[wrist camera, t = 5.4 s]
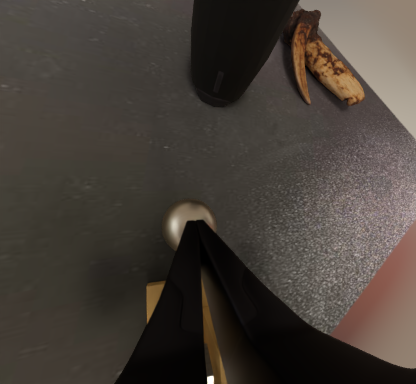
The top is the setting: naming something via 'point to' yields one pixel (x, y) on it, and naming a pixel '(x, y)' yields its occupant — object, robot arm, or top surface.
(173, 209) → the tap lever
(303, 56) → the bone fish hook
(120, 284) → the top surface
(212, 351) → the tap bracket
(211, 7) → the portable speaker
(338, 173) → the top surface
